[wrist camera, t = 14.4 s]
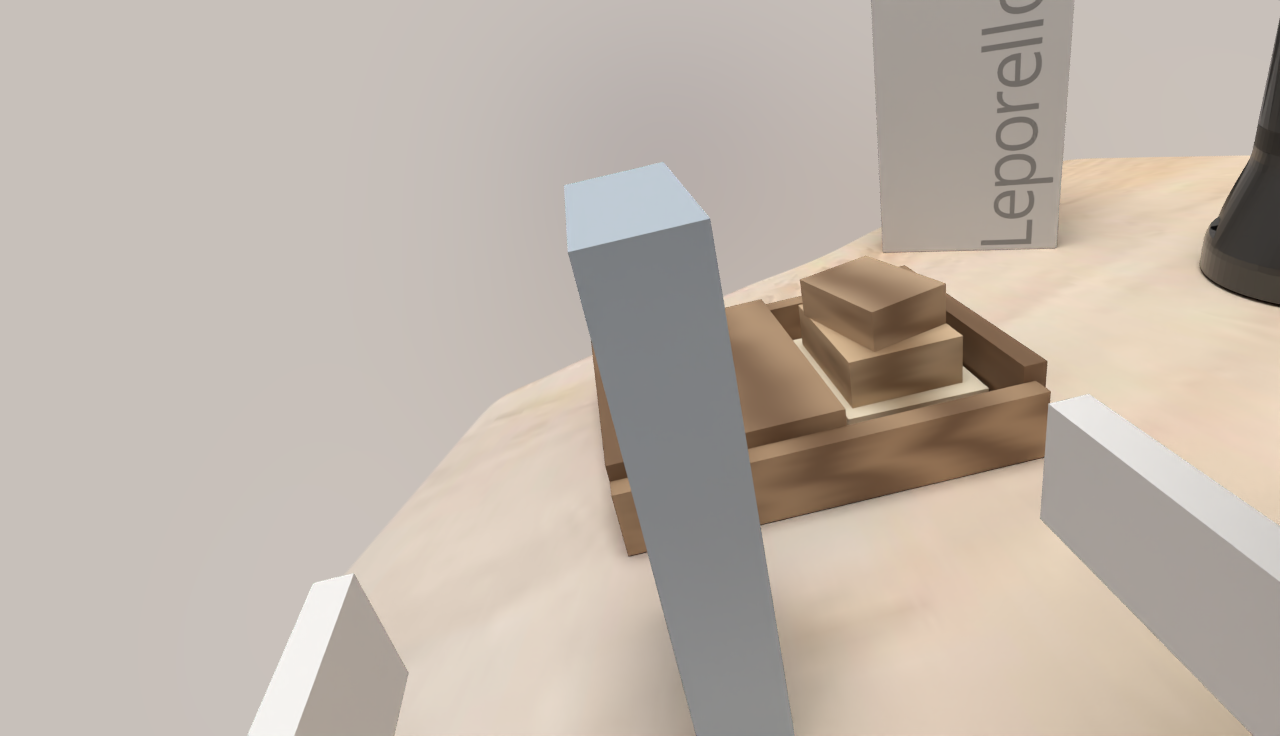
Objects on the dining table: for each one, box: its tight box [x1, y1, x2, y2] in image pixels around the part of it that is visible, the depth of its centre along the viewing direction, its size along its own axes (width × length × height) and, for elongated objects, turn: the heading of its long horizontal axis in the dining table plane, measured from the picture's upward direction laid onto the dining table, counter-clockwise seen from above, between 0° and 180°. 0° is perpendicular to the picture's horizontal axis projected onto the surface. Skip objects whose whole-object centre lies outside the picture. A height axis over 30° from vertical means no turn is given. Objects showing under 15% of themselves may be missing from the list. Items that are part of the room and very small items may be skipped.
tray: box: [591, 265, 1051, 556], centre depth 43 cm, size 23×18×5 cm
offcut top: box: [800, 256, 946, 352], centre depth 42 cm, size 5×7×2 cm
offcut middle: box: [798, 304, 963, 408], centre depth 43 cm, size 6×9×3 cm
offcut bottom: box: [793, 338, 989, 425], centre depth 44 cm, size 8×11×3 cm
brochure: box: [871, 0, 1074, 252], centre depth 57 cm, size 14×6×30 cm, turn 62°
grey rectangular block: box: [564, 162, 795, 736], centre depth 25 cm, size 4×8×20 cm, turn 6°
